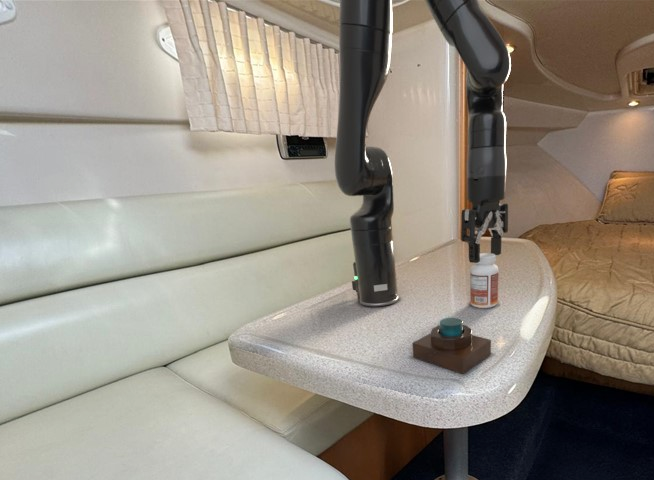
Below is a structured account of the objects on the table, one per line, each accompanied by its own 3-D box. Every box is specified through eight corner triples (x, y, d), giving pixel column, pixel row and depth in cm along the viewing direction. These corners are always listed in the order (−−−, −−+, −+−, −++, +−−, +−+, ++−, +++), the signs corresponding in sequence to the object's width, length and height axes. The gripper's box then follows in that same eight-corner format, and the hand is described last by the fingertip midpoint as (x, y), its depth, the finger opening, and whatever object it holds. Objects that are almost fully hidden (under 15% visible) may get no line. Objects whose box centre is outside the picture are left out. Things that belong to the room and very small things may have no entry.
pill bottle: (490, 298, 86) (492, 251, 81) (502, 306, 81) (504, 256, 76) (466, 302, 85) (466, 254, 80) (476, 310, 80) (476, 259, 75)
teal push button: (435, 334, 58) (435, 322, 57) (448, 327, 61) (448, 316, 60) (453, 339, 56) (453, 327, 55) (466, 332, 58) (466, 320, 58)
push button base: (413, 357, 60) (411, 332, 58) (442, 341, 66) (441, 317, 64) (463, 374, 54) (462, 347, 52) (490, 354, 60) (491, 329, 58)
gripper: (489, 174, 78) (488, 251, 85) (448, 177, 69) (451, 263, 75) (521, 172, 73) (517, 253, 80) (482, 174, 64) (482, 266, 71)
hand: (485, 258), depth 78 cm, fingers open, 8 cm apart
